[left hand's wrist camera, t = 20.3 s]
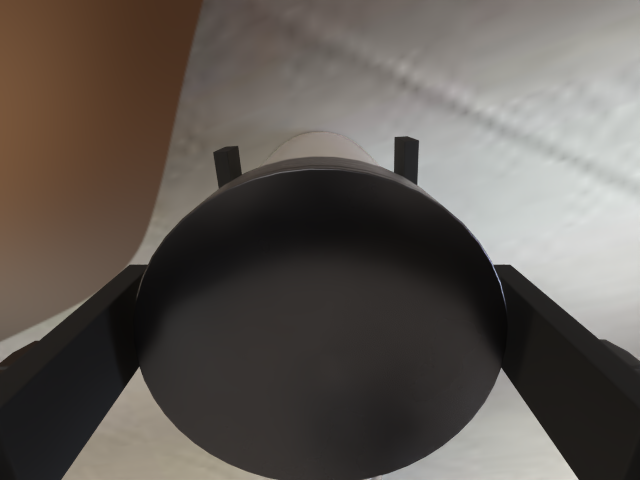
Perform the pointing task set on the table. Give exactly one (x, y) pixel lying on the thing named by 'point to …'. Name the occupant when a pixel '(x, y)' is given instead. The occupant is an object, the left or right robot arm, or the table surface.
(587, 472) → the left robot arm
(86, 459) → the table surface
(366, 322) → the lid
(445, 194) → the table surface
